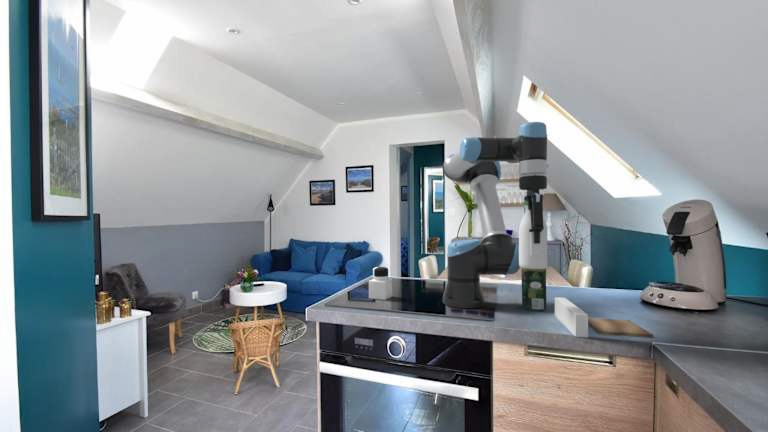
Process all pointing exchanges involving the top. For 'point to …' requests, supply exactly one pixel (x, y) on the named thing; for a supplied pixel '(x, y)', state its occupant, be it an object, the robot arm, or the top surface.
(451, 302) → the robot arm
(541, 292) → the coffee jar
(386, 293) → the medicine bottle
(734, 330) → the top surface
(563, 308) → the low wall
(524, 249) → the milk bottle
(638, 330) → the walnut pad
